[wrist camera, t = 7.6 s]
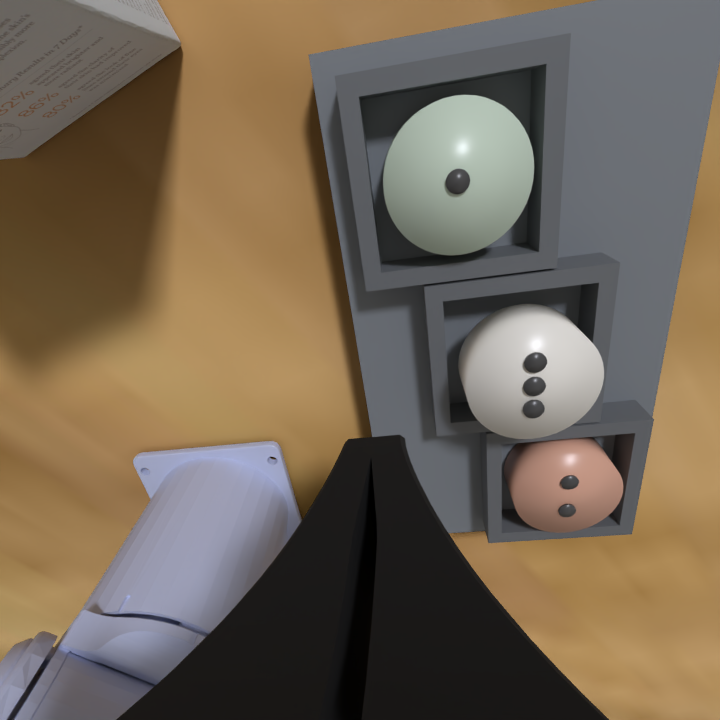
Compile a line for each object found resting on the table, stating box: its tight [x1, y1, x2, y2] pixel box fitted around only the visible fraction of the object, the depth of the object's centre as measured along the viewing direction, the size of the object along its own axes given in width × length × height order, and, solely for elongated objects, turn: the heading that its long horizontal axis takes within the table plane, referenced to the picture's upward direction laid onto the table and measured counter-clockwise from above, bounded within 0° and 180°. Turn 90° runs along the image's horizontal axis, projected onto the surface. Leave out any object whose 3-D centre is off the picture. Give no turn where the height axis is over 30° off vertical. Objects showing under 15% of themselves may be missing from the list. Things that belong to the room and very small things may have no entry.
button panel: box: [309, 0, 720, 543], centre depth 18 cm, size 21×12×3 cm, turn 8°
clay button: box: [504, 437, 623, 533], centre depth 19 cm, size 4×4×2 cm
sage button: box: [383, 95, 534, 255], centre depth 14 cm, size 4×4×2 cm
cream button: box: [458, 304, 604, 439], centre depth 15 cm, size 4×4×2 cm
